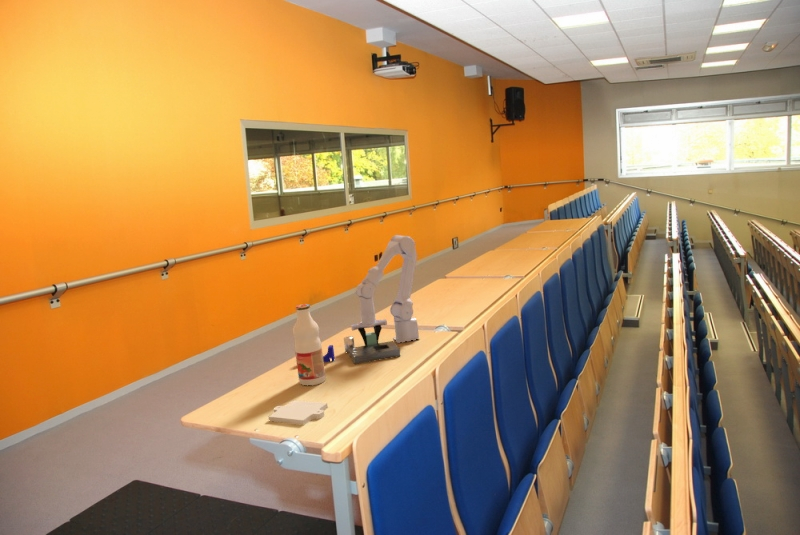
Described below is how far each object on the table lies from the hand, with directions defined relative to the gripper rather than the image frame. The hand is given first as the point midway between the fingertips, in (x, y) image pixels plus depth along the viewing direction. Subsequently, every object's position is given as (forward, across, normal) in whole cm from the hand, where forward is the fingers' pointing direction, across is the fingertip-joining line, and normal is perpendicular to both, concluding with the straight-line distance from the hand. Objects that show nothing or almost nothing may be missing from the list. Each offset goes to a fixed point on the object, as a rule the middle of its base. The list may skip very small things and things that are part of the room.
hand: (371, 344), depth 249 cm
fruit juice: (+2, -27, -28) cm, 39 cm away
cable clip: (+2, -23, -6) cm, 24 cm away
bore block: (+2, -1, -11) cm, 11 cm away
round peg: (+2, -9, 0) cm, 9 cm away
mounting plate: (+2, -34, -56) cm, 66 cm away
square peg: (+2, 0, 0) cm, 2 cm away
